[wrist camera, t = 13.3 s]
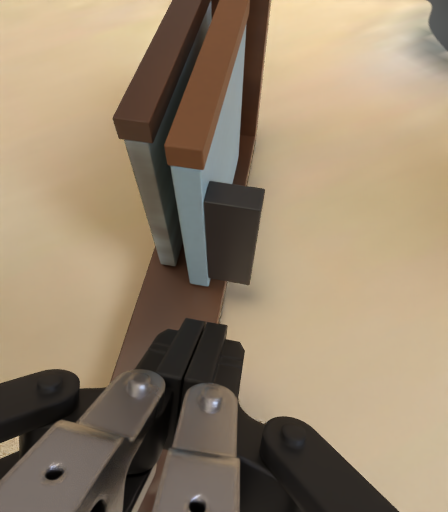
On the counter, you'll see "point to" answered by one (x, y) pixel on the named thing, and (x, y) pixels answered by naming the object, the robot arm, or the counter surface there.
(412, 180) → the counter surface
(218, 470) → the robot arm
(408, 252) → the counter surface
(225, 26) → the window pane
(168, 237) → the window frame
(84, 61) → the counter surface
